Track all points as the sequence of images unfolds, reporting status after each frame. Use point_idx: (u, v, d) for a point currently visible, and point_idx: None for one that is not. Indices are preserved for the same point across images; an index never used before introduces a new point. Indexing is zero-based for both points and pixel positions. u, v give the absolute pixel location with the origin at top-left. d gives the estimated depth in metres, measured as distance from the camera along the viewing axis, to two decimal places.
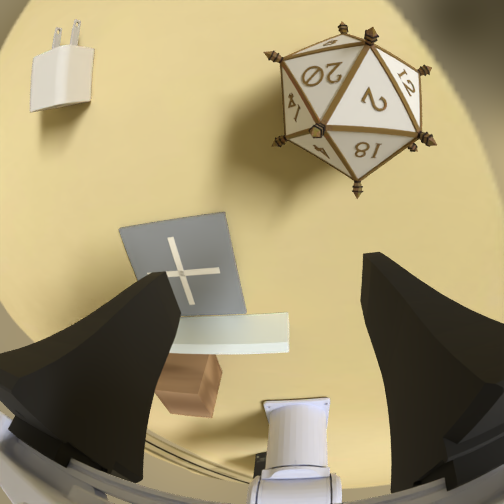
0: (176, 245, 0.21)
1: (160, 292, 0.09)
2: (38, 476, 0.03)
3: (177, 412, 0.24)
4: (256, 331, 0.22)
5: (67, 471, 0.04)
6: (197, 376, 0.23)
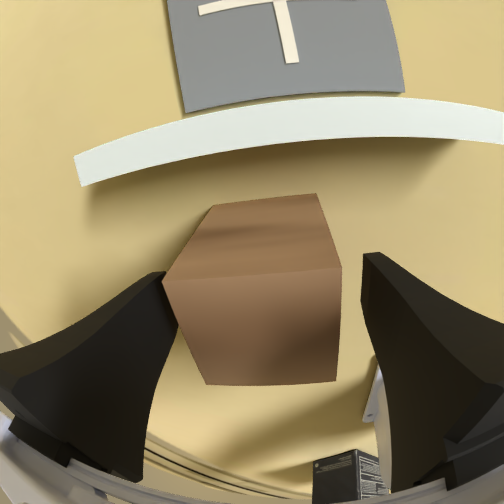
0: None
1: (160, 292, 0.09)
2: (38, 476, 0.03)
3: (230, 378, 0.09)
4: None
5: (67, 471, 0.04)
6: (313, 233, 0.08)
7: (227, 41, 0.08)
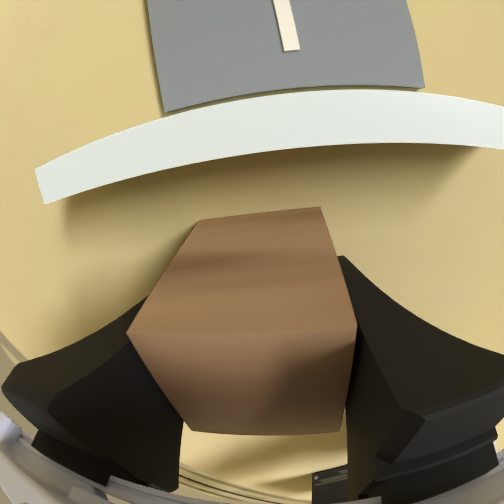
0: None
1: None
2: (38, 476, 0.03)
3: (217, 427, 0.07)
4: None
5: (67, 471, 0.04)
6: (318, 267, 0.06)
7: (213, 26, 0.07)
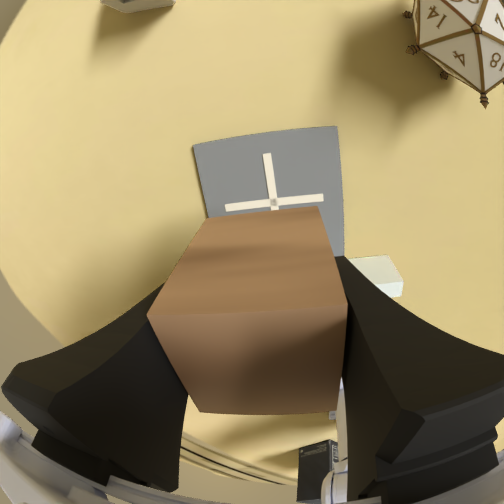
0: (273, 164, 0.17)
1: None
2: (38, 476, 0.03)
3: (224, 407, 0.08)
4: (363, 273, 0.18)
5: (67, 471, 0.04)
6: (315, 258, 0.07)
7: None
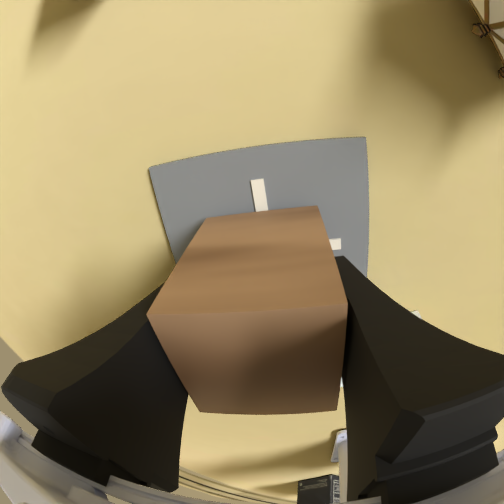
0: (266, 195, 0.11)
1: None
2: (38, 476, 0.03)
3: (224, 407, 0.08)
4: None
5: (67, 471, 0.04)
6: (314, 257, 0.07)
7: None
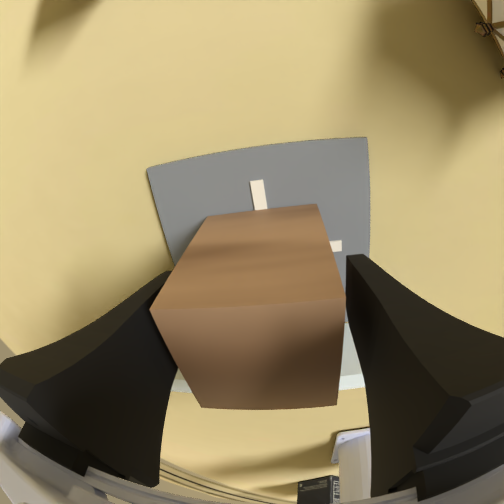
0: (266, 197, 0.11)
1: None
2: (38, 476, 0.03)
3: (225, 402, 0.08)
4: None
5: (67, 471, 0.04)
6: (314, 253, 0.07)
7: None
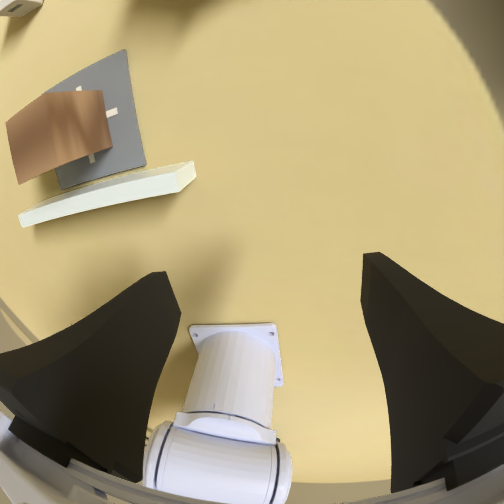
0: None
1: (160, 292, 0.09)
2: (38, 476, 0.03)
3: (24, 174, 0.12)
4: (146, 174, 0.16)
5: (67, 471, 0.04)
6: None
7: None
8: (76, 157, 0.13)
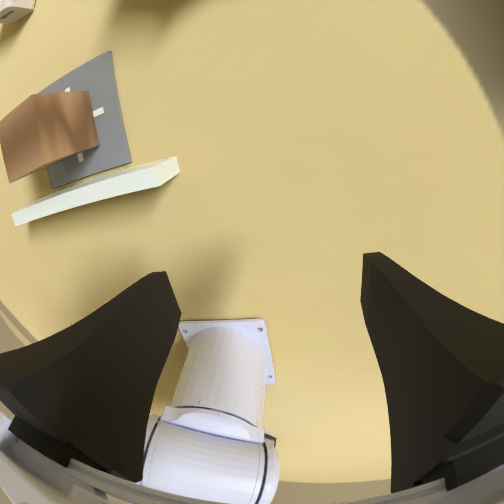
0: None
1: (160, 292, 0.09)
2: (38, 476, 0.03)
3: (14, 173, 0.12)
4: (130, 170, 0.16)
5: (67, 471, 0.04)
6: None
7: None
8: (62, 155, 0.13)
